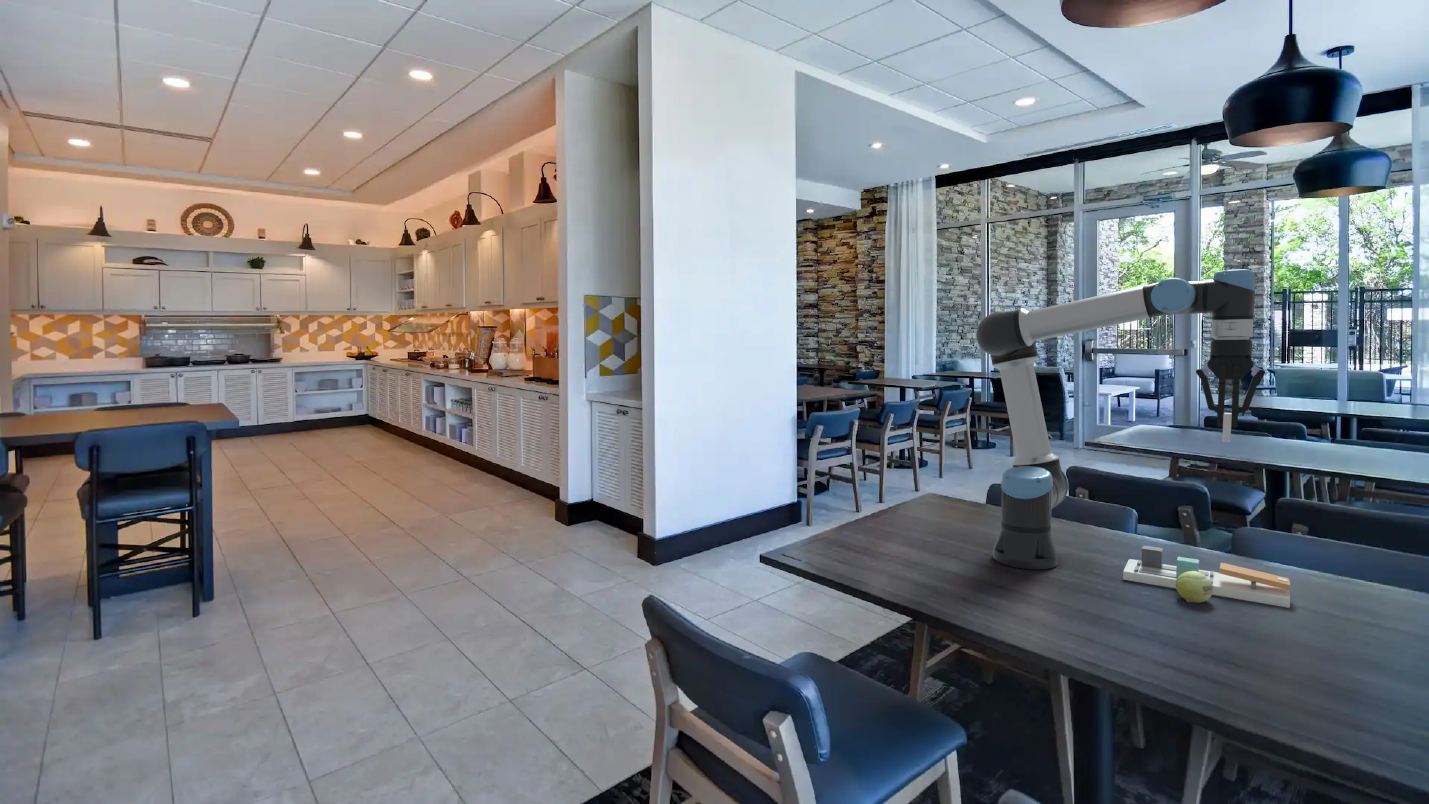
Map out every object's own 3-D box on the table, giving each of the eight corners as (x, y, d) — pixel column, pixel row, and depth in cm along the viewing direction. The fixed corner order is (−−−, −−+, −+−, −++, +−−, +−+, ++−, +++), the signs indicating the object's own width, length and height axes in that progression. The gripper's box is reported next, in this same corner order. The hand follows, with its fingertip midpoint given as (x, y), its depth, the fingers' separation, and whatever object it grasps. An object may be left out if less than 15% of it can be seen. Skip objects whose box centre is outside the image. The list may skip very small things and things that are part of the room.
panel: (1122, 579, 160) (1123, 565, 160) (1128, 566, 169) (1129, 553, 168) (1289, 607, 142) (1290, 592, 141) (1286, 592, 150) (1287, 577, 150)
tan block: (1219, 573, 151) (1220, 567, 150) (1219, 567, 155) (1220, 561, 154) (1289, 590, 144) (1290, 584, 143) (1287, 583, 147) (1289, 577, 147)
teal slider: (1176, 577, 154) (1176, 560, 154) (1177, 573, 157) (1177, 556, 156) (1197, 580, 152) (1198, 563, 152) (1198, 576, 154) (1199, 559, 154)
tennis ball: (1202, 576, 142) (1216, 570, 146) (1167, 572, 148) (1182, 566, 152) (1205, 607, 142) (1220, 600, 146) (1171, 601, 148) (1185, 595, 151)
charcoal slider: (1141, 564, 163) (1142, 548, 163) (1142, 561, 165) (1143, 545, 165) (1161, 568, 161) (1162, 551, 160) (1162, 564, 163) (1163, 548, 163)
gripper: (1195, 339, 156) (1191, 441, 158) (1268, 338, 148) (1262, 445, 150) (1197, 339, 162) (1192, 437, 164) (1267, 338, 154) (1262, 441, 156)
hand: (1226, 441), depth 157 cm, fingers closed
